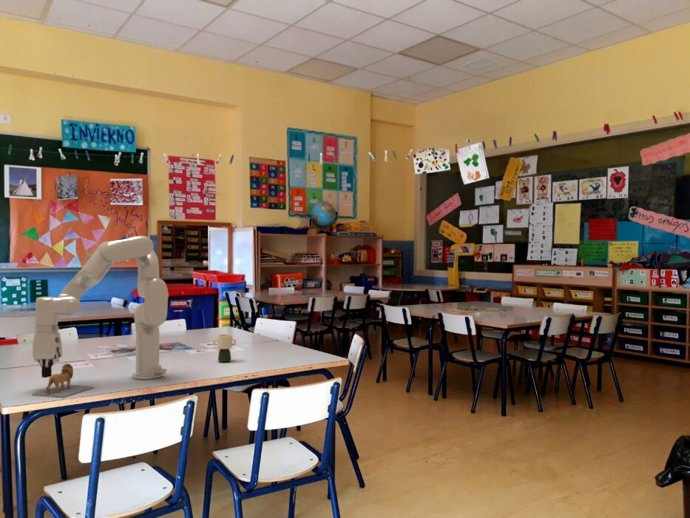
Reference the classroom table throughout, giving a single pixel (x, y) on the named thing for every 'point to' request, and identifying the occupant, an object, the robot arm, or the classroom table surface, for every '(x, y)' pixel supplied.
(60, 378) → the lion figurine
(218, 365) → the classroom table surface
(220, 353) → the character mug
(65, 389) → the felt mat
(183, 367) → the classroom table surface
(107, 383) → the classroom table surface
